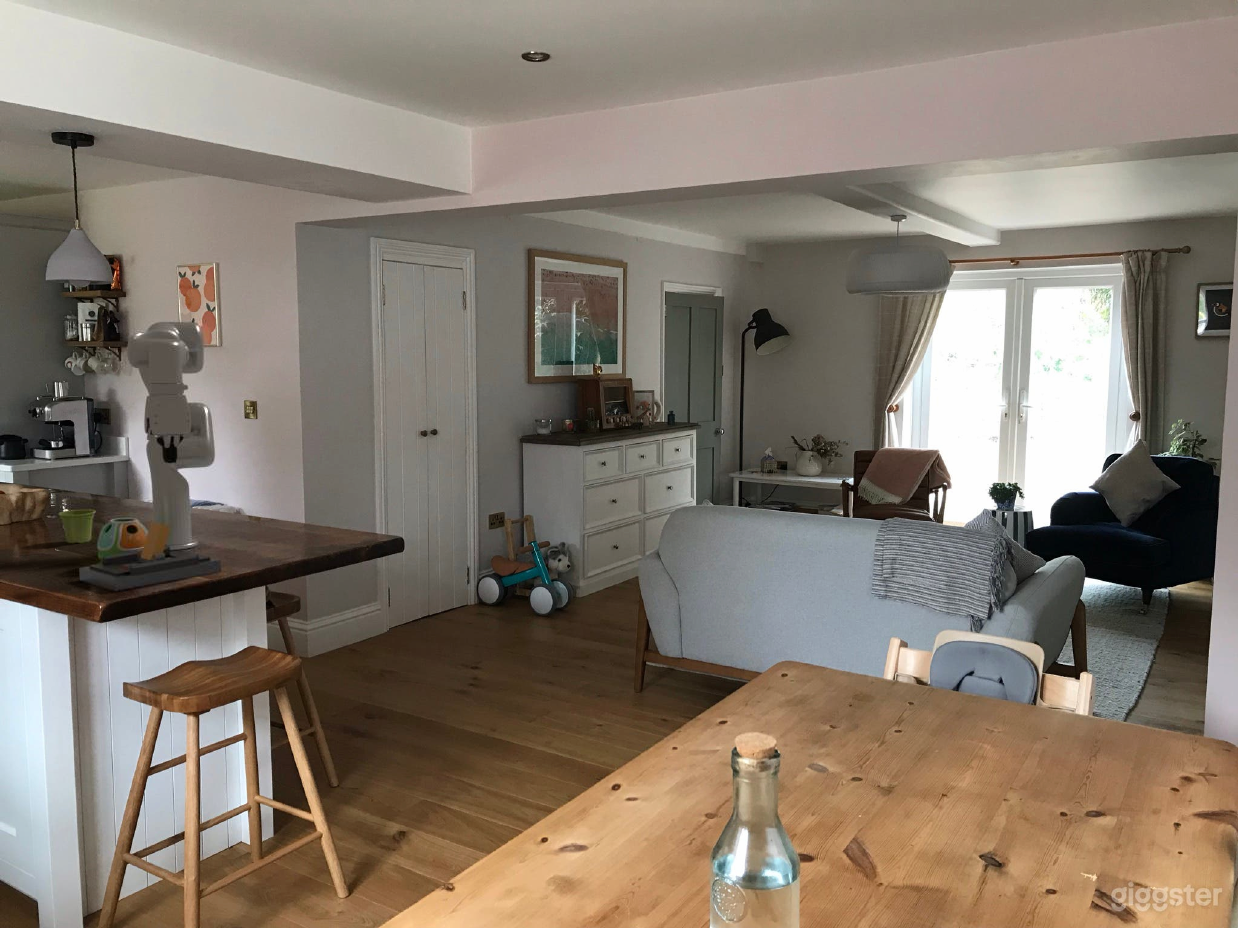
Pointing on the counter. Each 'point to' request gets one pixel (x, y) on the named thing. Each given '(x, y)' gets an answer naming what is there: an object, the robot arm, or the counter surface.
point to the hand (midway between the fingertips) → (170, 462)
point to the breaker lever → (155, 540)
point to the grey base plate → (121, 579)
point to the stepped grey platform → (151, 566)
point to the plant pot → (77, 525)
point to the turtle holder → (121, 537)
